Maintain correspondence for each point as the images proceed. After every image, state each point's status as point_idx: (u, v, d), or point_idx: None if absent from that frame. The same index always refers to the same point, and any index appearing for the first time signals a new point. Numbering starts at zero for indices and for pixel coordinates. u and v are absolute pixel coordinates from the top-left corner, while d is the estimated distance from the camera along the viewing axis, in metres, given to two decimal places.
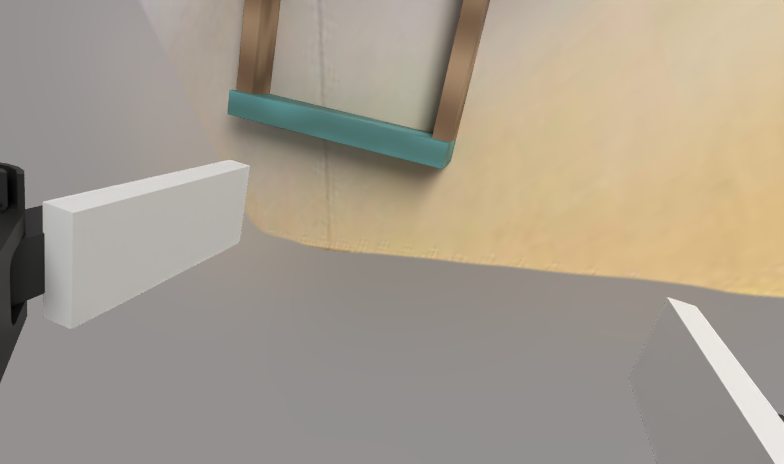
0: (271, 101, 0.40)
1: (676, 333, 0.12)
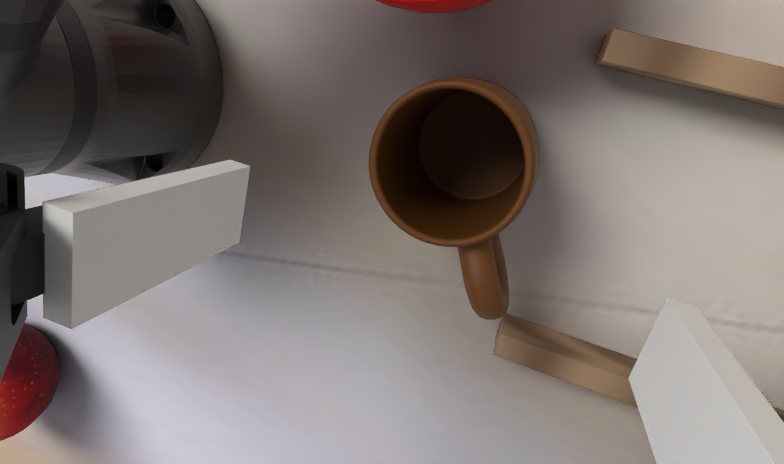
0: None
1: (676, 333, 0.12)
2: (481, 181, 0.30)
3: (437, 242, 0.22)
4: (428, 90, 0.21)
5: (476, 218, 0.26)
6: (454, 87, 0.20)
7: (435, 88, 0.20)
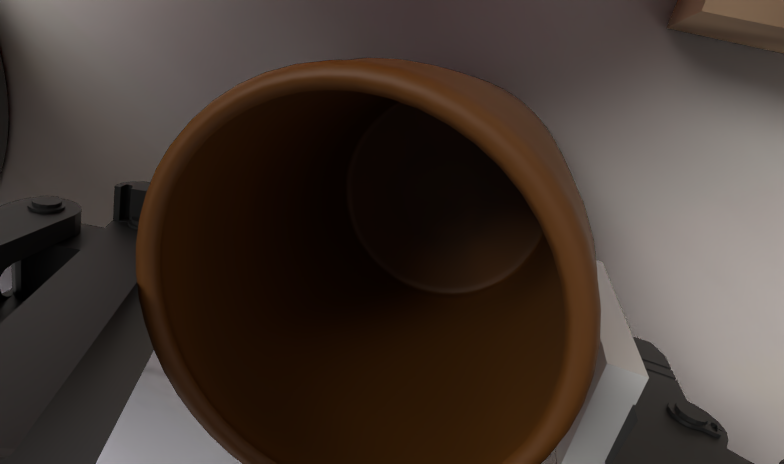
0: None
1: None
2: (460, 261, 0.16)
3: None
4: (270, 94, 0.07)
5: (440, 373, 0.12)
6: (345, 86, 0.06)
7: (289, 88, 0.07)
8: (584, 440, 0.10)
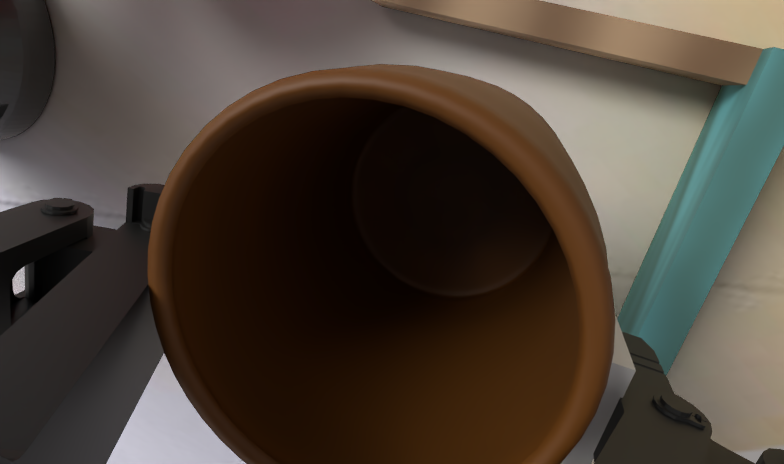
0: None
1: None
2: (465, 264, 0.16)
3: None
4: (285, 101, 0.07)
5: (447, 377, 0.12)
6: (362, 94, 0.06)
7: (305, 96, 0.07)
8: None
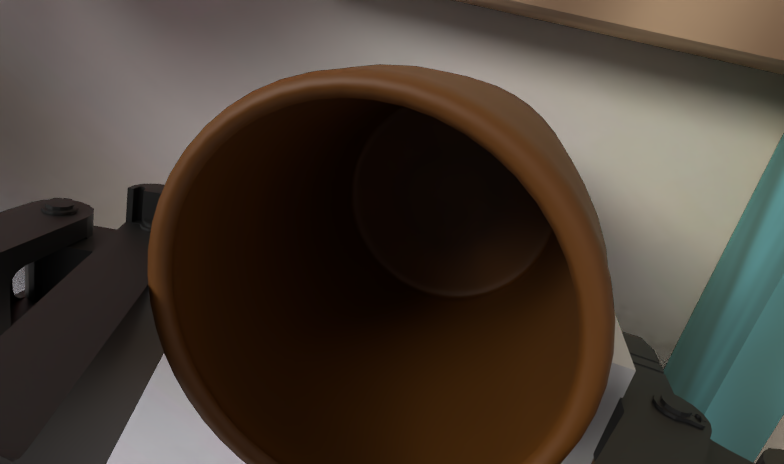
0: None
1: None
2: (465, 264, 0.16)
3: None
4: (285, 102, 0.07)
5: (447, 378, 0.12)
6: (362, 94, 0.06)
7: (305, 96, 0.07)
8: None
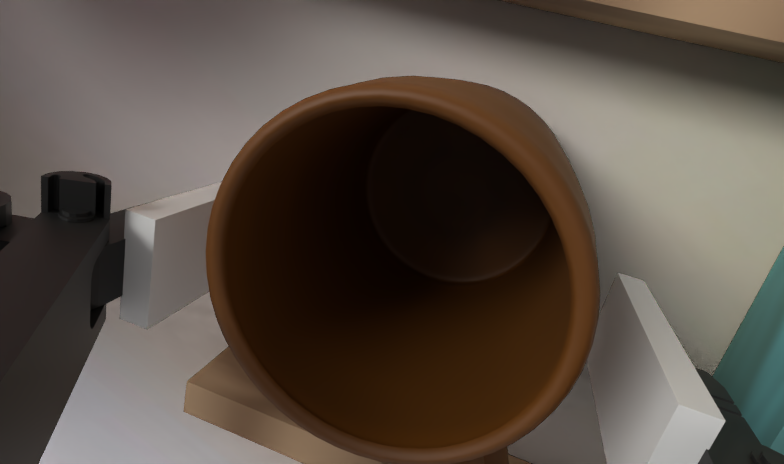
0: None
1: (621, 304, 0.13)
2: (469, 253, 0.18)
3: (357, 451, 0.10)
4: (333, 108, 0.08)
5: (454, 351, 0.13)
6: (398, 104, 0.08)
7: (350, 104, 0.08)
8: None
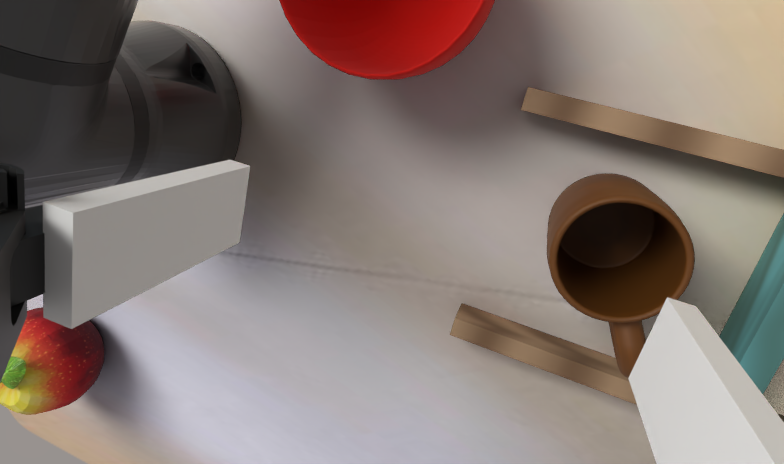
0: None
1: (676, 334, 0.12)
2: (607, 253, 0.36)
3: (602, 318, 0.28)
4: (610, 202, 0.26)
5: (618, 292, 0.31)
6: (633, 202, 0.26)
7: (616, 202, 0.26)
8: None
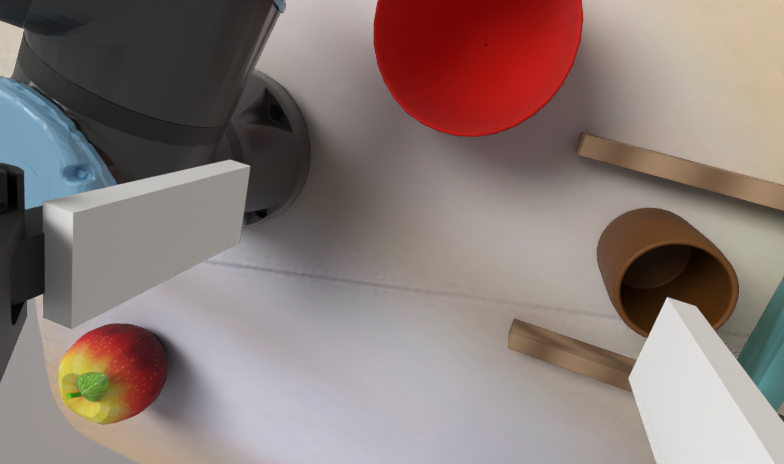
0: None
1: (676, 333, 0.12)
2: (648, 275, 0.41)
3: None
4: (668, 244, 0.31)
5: None
6: (688, 244, 0.31)
7: (674, 244, 0.31)
8: None
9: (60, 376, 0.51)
